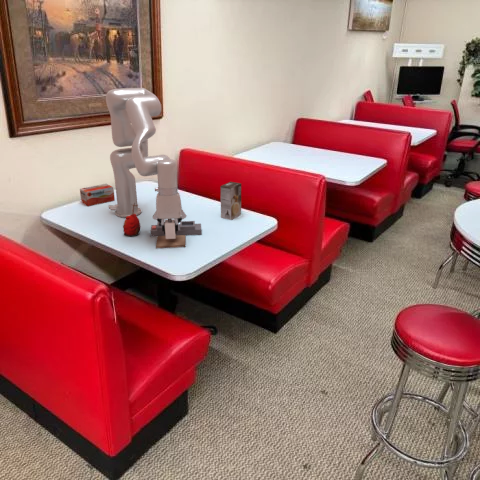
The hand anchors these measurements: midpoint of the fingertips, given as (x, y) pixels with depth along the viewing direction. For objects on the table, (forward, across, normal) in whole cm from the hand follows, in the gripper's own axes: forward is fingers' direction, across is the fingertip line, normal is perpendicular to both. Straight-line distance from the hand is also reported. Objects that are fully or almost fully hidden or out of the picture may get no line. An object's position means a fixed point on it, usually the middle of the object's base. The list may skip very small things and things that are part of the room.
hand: (170, 232), depth 180 cm
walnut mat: (+5, 0, 0) cm, 5 cm away
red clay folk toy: (+5, -17, +10) cm, 21 cm away
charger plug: (+2, 0, 0) cm, 2 cm away
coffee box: (+5, +28, +28) cm, 40 cm away
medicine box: (+5, -40, +55) cm, 68 cm away
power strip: (+5, +2, +10) cm, 12 cm away
